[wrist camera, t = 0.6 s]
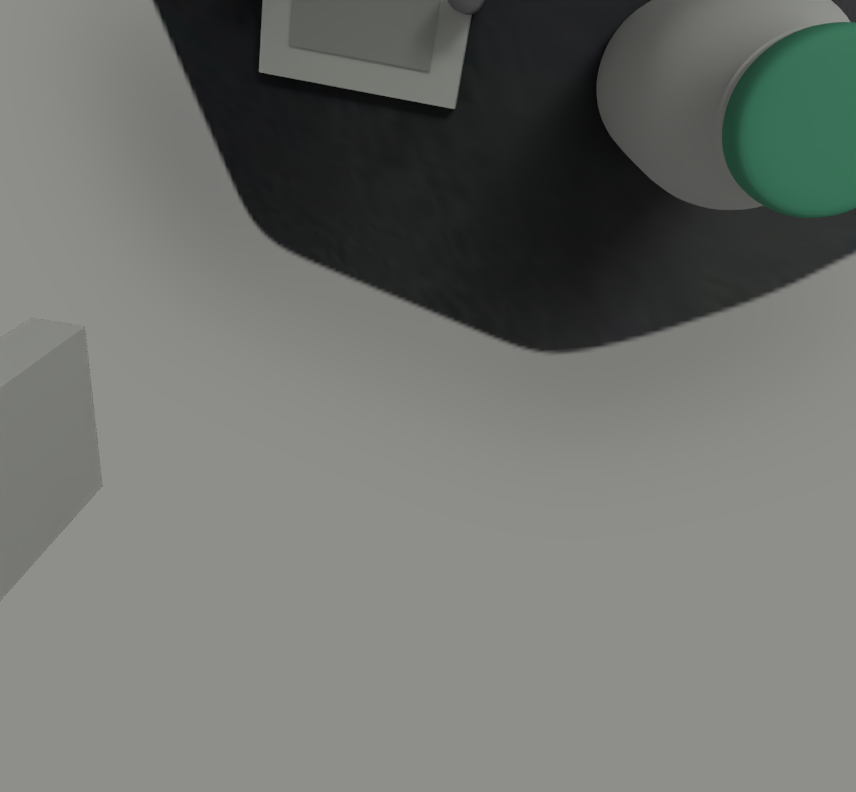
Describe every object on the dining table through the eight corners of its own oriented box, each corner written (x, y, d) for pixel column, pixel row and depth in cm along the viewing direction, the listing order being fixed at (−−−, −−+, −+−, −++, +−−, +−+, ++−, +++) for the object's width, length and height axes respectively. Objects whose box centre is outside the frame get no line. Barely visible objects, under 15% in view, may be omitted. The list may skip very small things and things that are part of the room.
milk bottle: (597, 171, 38) (669, 294, 20) (591, 4, 34) (671, -27, 17) (753, 152, 37) (979, 265, 19) (763, -23, 33) (1049, -88, 15)
